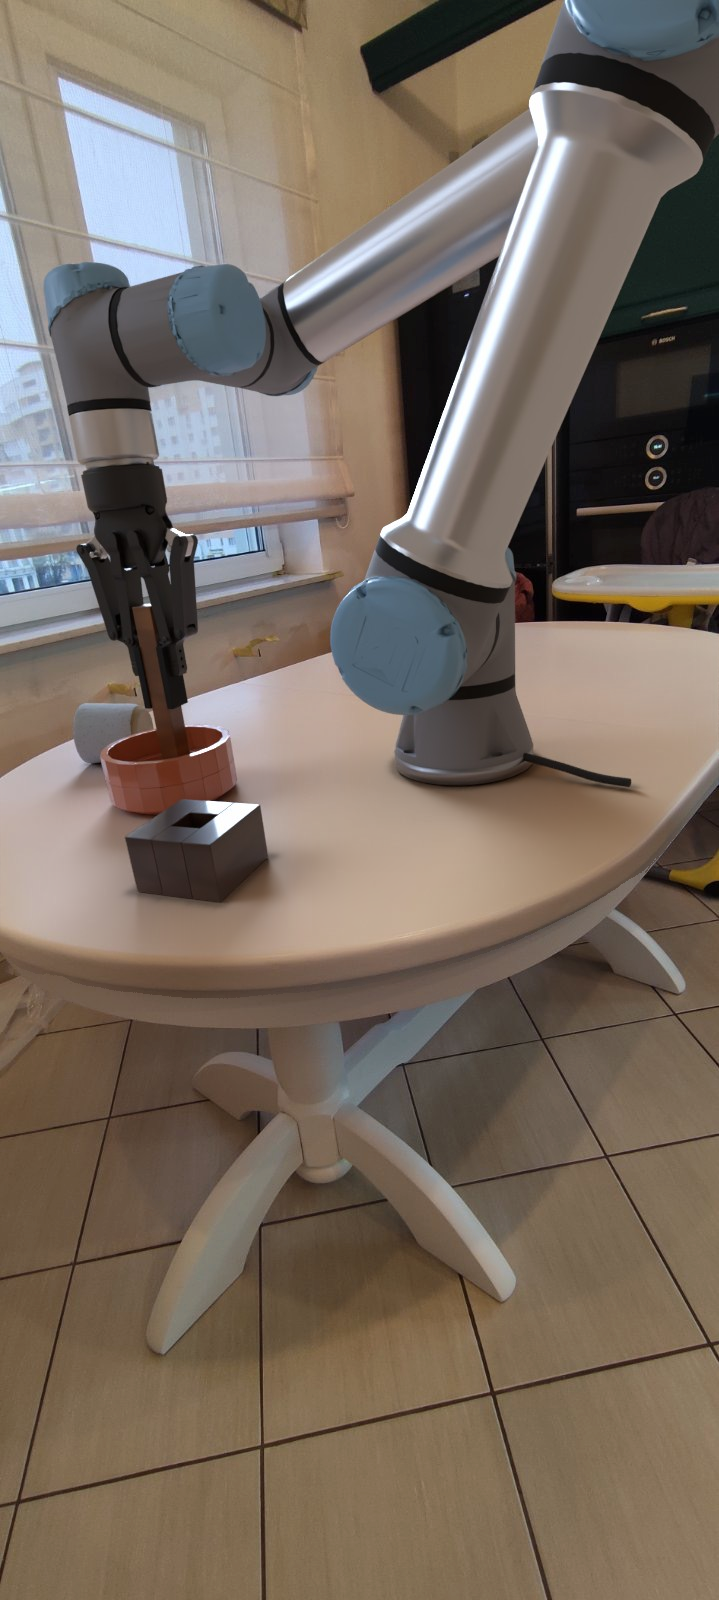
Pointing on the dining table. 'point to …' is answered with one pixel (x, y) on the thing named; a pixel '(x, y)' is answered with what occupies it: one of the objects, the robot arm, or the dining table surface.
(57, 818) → the dining table surface
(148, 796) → the bowl
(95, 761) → the ceramic mug
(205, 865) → the holder
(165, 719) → the stick
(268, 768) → the dining table surface
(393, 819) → the dining table surface
